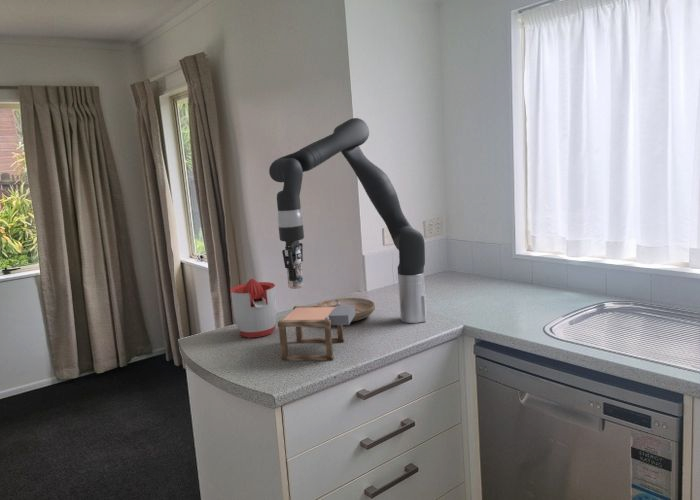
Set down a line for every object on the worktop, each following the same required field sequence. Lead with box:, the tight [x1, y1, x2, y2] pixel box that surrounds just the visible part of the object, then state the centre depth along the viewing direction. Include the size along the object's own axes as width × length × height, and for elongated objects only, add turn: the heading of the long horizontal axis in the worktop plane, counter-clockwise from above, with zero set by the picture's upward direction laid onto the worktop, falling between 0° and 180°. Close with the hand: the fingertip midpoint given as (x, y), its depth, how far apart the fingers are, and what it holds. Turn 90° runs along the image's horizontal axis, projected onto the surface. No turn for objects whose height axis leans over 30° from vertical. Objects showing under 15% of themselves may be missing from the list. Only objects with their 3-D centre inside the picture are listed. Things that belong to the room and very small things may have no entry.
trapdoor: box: [282, 305, 355, 326], centre depth 172 cm, size 20×14×3 cm
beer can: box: [286, 249, 304, 290], centre depth 171 cm, size 5×5×12 cm
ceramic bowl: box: [315, 297, 376, 323], centre depth 208 cm, size 23×24×5 cm
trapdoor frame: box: [277, 302, 345, 361], centre depth 174 cm, size 16×18×13 cm
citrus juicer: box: [230, 278, 278, 339], centre depth 195 cm, size 16×17×20 cm
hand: (295, 278), depth 172 cm, fingers closed on beer can, 4 cm apart
